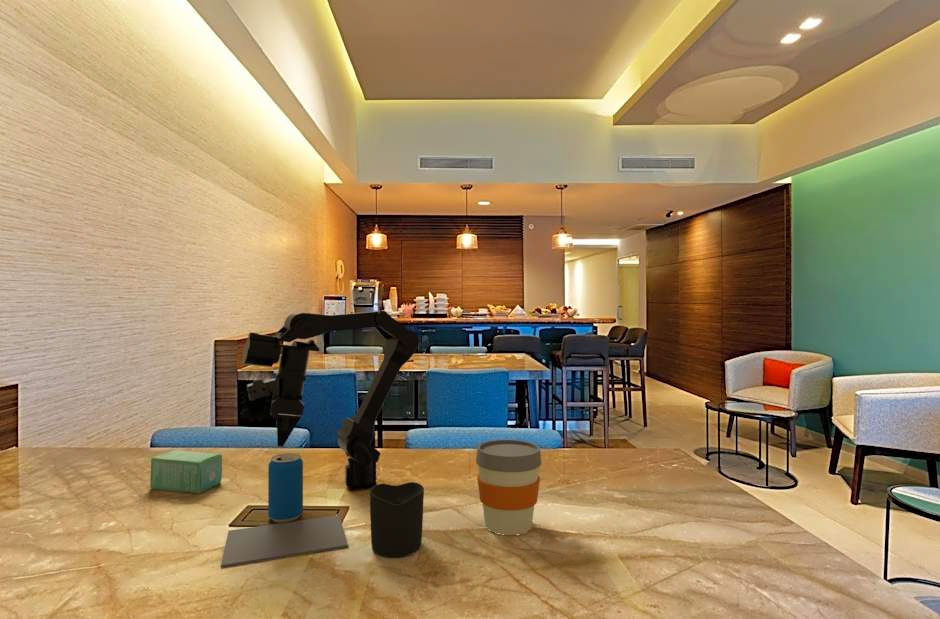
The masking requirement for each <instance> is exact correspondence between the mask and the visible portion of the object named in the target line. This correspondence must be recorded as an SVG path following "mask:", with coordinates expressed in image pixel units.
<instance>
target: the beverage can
mask: <svg viewBox="0 0 940 619" xmlns="http://www.w3.org/2000/svg"><path fill="white" fill-rule="evenodd" d="M301 457H302V456H301V454H299V453H294V452H289V453H288V452H287V453H279V454H276V455H273V456H271V458H270V462H269V464H268V484H267V485H268V486H267V487H268V493H267V494H268V496H267V498H268V501H267V502H268V507H267V509H268V512H267V513H268V518H269V519H271V520H272V521H273V522H275V523H287V522H294V521H295V520H296V519H299V517H300V516H301V515H302V514H303V513H304V462H303V459H302V458H301Z"/></svg>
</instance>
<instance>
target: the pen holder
mask: <svg viewBox="0 0 940 619" xmlns="http://www.w3.org/2000/svg"><path fill="white" fill-rule="evenodd" d="M424 493H425V487H424V485H422V484H420V483H419V482H414V481H410V482H405V483H403V484H399V485H396V484H395V485H393V484H388V483H379V484H378V483H377V485H375V486H373V487H372V488H369V512H370V513H369V514H370V515H369V516H370V537H371V538H370V539H371V541H370V542H371V549H372V551H373V552H374V553H375V554H376V555H378V556H380V557H384V558H389V559H397V558H398V559H399V558H405V557H409V556H410V555H413V554H415V553H416V552H418V551H419V550H420V548H421V546H422V542H423V540H422V538H423V522H424V501H425V500H424V499H425V498H424V496H425V494H424Z"/></svg>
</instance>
